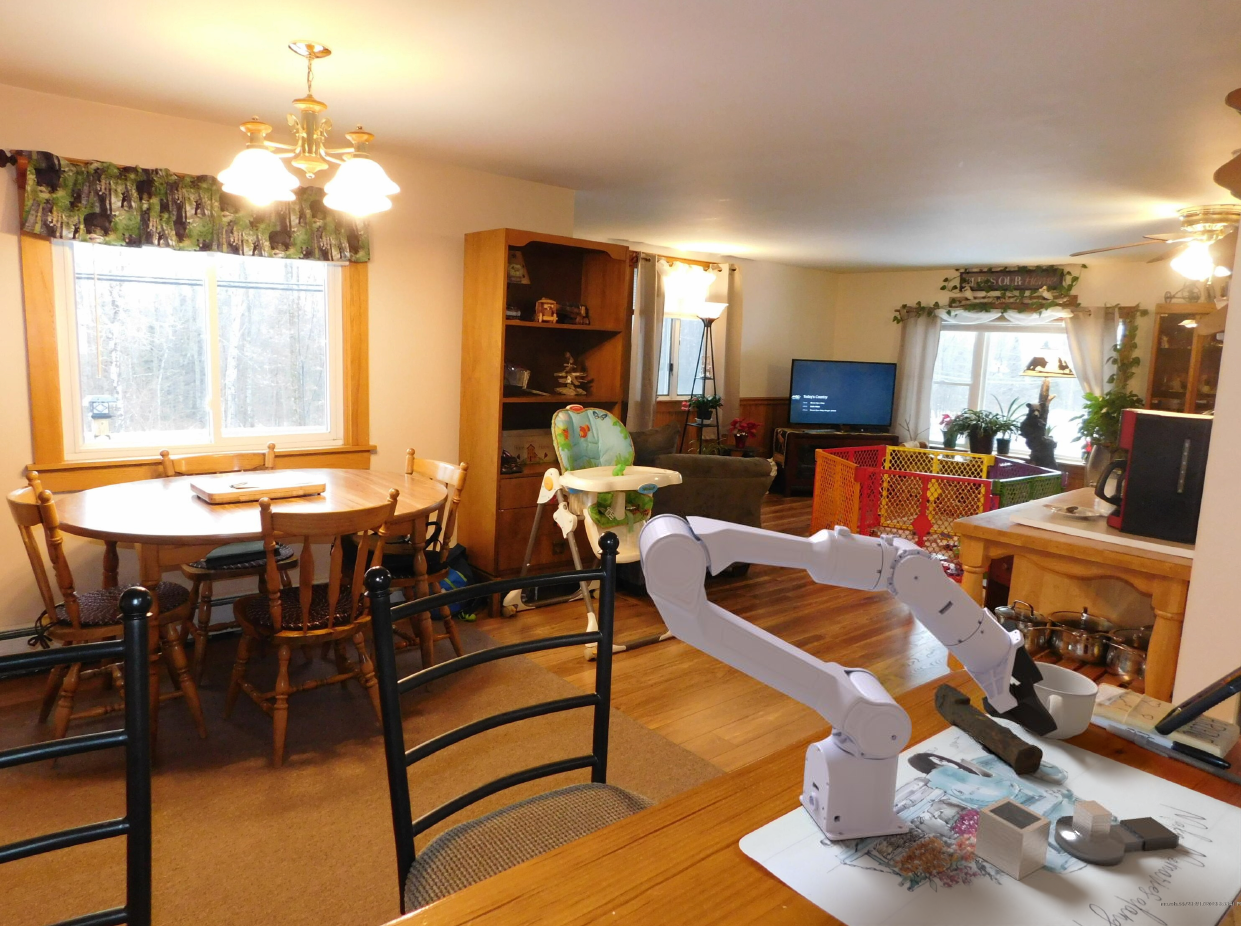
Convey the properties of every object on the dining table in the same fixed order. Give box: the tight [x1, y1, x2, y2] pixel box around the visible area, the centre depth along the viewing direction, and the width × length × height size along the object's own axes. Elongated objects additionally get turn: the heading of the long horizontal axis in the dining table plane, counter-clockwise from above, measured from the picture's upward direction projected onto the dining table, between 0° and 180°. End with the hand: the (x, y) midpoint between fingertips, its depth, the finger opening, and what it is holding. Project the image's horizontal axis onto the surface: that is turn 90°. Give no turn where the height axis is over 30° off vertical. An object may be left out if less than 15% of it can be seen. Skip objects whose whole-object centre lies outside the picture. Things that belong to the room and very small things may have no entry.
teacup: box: [1010, 661, 1100, 740], centre depth 109 cm, size 14×11×8 cm
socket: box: [974, 796, 1052, 881], centre depth 82 cm, size 5×5×5 cm
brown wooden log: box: [934, 683, 1044, 776], centre depth 108 cm, size 19×4×5 cm, turn 12°
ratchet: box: [1053, 800, 1180, 868], centre depth 85 cm, size 13×6×5 cm, turn 102°
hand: (1041, 705), depth 88 cm, fingers open, 7 cm apart
